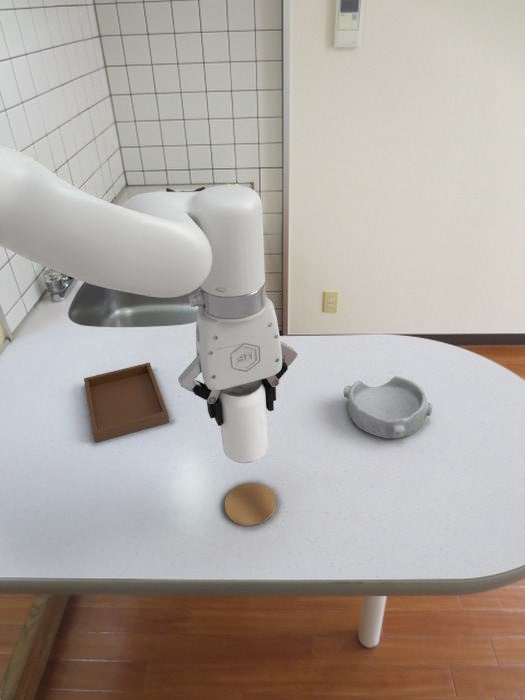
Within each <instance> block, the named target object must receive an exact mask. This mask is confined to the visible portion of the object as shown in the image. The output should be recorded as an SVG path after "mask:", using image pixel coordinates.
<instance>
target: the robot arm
mask: <svg viewBox="0 0 525 700" xmlns="http://www.w3.org/2000/svg"><path fill="white" fill-rule="evenodd" d="M0 247H2V248H4V249H7V250H9V251H11V252H13V253H15V254H17V255H18V256H20V257H21V258H24V259H27V260H29V261H31V262H34V263H36V264H39V265H41V266H43V267H46V268H49V269H50V270H54V271H55V272H57V273H60V274H62V275H65V276H66V277H67V276H68V277H69V278H73V279H75V280H77V281H81V282H83V283H86V284H89V285H93V286H96V287H100V288H105V289H109V290H114V291H119V292H124V293H129V294H134V295H139V296H146V297H153V298H161V299H165V298H167V299H169V298H178V297H183V296H185V295H188V294H191V293H193V292H194V291H196V290H197V292H195V293H194V294H191V295H188V301H189V305H190V307H191V308H194V307H197V314H196V323H195V348H196V349H195V351H196V357H195V358H194V359H193V360H192V361H191V362H190V363H189V365H188V366H187V367H186V368H185V369H184V371H183V372H182V373H181V374H179V376H178V379H177V380H178V383H179V385H180V387H182V388H183V389H185V390H187V391H188V392H191V393H193V394H194V395H195V396H197V397H198V398H201V399H203V400H205V401H206V407H207V413H208V416H209V418H210V420H211V419H214V420H215V422H216V424H217V426H218V427H220V426H221V425H222V424H223V414H222V404H221V401H220V399H219V397H218V396H219V393H220V391H221V390H222V389H227V388H231V387H234V386H238V385H242V384H246V383H250V382H253V381H257V380H262V384H263V385H264V388H265V394H266V411H269V412H274V410H275V405H274V404H275V403H274V402H275V401H277V386H279V384H280V380H281V378H282V377H283V376H284V375H285V373H286V372H287V371H288V369H289V366H291V365H292V363H294V361H295V359H297V357H298V353H297V351H296V350H295V349H294V348H293V347H292V346H290V345H288V344H287V343H285V342H283V341H282V340H281V337H280V336H281V335H280V329H279V323H278V318H277V314H276V310H275V306H274V303H273V301H272V300H271V299H269V297H268V296H267V293H266V268H265V265H266V264H265V241H264V216H263V203H262V199H261V197H260V195H259V194H258V192H257V191H255V190H254V189H252V188H251V187H248V186H246V185H240V184H220V185H214V186H210V187H207V188H204V189H202V190H198V191H149V192H143V193H139V194H136V195H133V196H132V197H130V198H128V199H127V200H125V201H124V203H122V205H117V204H115V203H112V202H109V201H106V200H105V199H101V198H99V197H97V196H94V195H92V194H91V193H87V192H85V191H84V190H82V189H79V188H77V187H76V186H74V185H72V184H71V183H69V182H67V181H65V180H64V179H63V178H61V177H60V176H58V175H57V174H55V173H54V172H53V171H51V170H50V169H49V168H48V167H46V166H45V165H44V164H42V163H41V162H39V161H37V160H36V159H34V158H32V157H31V156H29V155H27V154H25V153H24V152H22V151H20V150H17V149H15V148H12V147H9V146H6V145H3V144H0ZM200 374H201V375H202V379H203V382H201V381H200V380H197V377H198V376H199V375H200Z"/></svg>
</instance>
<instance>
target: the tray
mask: <svg viewBox="0 0 525 700" xmlns="http://www.w3.org/2000/svg"><path fill="white" fill-rule="evenodd" d="M83 382H84V389H85V393H86V399H87V405H88V410H89V412H88V413H89V416H90V418H89V419H90V423H91V429H92V434H93V438H94V442H95V443H96V444H97V443H100V442H105V441H107V440H111V439H116V438H119V437H122V436H125V435H129V434H133V433H136V432H141V431H143V430H144V431H145V430H147V429H152V428H155V427H159V426H162V425H166V424H169V423H170V418H169V413H168V410H167V407H166V404H165V401H164V399H163V398H164V397H163V395H162V393H161V391H160V387H159V385H158V382H157V378H156V376H155V373H154V371H153V368H152V365H151V362H145V363H141V364H137V365H134V366H128V367H124V368H121V369H117V370H113V371H108V372H104V373H101V374H96V375H91V376H87V377H84V378H83Z"/></svg>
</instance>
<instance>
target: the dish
mask: <svg viewBox="0 0 525 700" xmlns="http://www.w3.org/2000/svg"><path fill="white" fill-rule="evenodd" d="M343 397H344V398H346V399H347V408H348V414H349V417H350V419H351V421H352V422H353V423H354V424H355V425H356V426H357V427H358V428H359V429H361V430H362V431H364V432H366V433H368V434H370V435H373V436H377V437H379V438H385V439H400V438H401V439H402V438H405V437H408V436H409V435H412V434H414V433H415V432H417V431H418V430H420V429H421V427H422V426H423V425H424V423H425V421H426V418H427V417H431V415H432V413H433V403H431V402H428V401H427V395H426V393H425V391H424V390H423V388H421V387H420V385H418V384H417V383H415V382H414V381H412V380H410V379H408V378H404V377H402V376H399V375H394V376H393V377H392V378H391V379H390V380H388V381H387V382H386V383H384V384H382V385H379V386H369V385H367V384H365V383H363V381H361V380H358V381H355V382H354V383H352V385H346V386H344V388H343Z"/></svg>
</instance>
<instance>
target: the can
mask: <svg viewBox="0 0 525 700" xmlns="http://www.w3.org/2000/svg"><path fill="white" fill-rule="evenodd" d="M218 397H219V399H220V401H221V404H222V414H223V424H222V425H221V426H219V428H220V434H221V435H220V436H221V441H222V443H221V444H222V450H223V453H224V455H225V456H226V457H227V459H229V460H231V461H233V462H235V463H239V464H250V463H253V462H256V461H258V460H260V459H261V458H262V457H263V456H265V454H266V453H267V451H268V447H269V442H268V441H269V438H268V437H269V436H268V415H267V408H266V394H265V388H264V385H263V384H262V380H257V381H253V382H250V383H246V384H242V385H238V386H234V387H231V388H227V389H222V390H221V391H220V393H219V396H218Z"/></svg>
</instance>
